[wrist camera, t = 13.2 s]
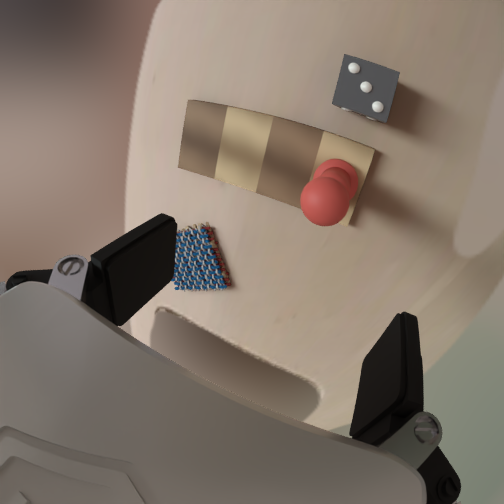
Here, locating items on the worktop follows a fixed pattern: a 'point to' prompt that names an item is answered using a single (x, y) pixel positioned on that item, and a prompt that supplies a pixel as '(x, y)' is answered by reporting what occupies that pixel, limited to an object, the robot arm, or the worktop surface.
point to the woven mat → (198, 260)
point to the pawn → (329, 192)
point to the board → (264, 151)
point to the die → (365, 88)
